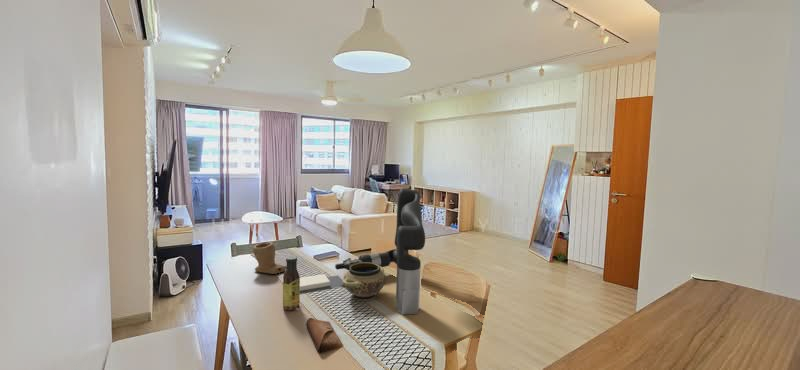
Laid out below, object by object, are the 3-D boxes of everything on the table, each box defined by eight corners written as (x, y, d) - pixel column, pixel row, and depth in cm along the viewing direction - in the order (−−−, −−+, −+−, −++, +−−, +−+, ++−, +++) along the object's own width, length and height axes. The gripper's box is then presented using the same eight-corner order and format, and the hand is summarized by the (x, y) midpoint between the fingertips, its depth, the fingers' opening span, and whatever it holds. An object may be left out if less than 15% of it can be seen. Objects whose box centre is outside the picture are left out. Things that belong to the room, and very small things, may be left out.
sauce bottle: (294, 312, 124) (294, 261, 122) (279, 310, 125) (279, 260, 124) (302, 304, 131) (302, 256, 129) (288, 302, 132) (288, 254, 130)
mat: (338, 276, 162) (338, 275, 162) (347, 286, 150) (347, 285, 150) (287, 284, 151) (287, 283, 151) (293, 295, 138) (292, 294, 138)
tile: (324, 274, 157) (294, 278, 150) (330, 281, 148) (298, 286, 141) (324, 278, 157) (294, 283, 150) (330, 286, 148) (298, 292, 141)
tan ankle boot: (248, 273, 163) (247, 243, 162) (267, 266, 174) (266, 238, 172) (270, 278, 157) (270, 248, 155) (288, 271, 167) (288, 242, 166)
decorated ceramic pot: (371, 289, 154) (365, 257, 155) (401, 289, 144) (394, 255, 145) (332, 308, 134) (326, 272, 135) (364, 310, 124) (357, 271, 125)
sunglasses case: (345, 346, 103) (335, 332, 101) (327, 363, 100) (315, 348, 98) (329, 321, 118) (319, 307, 116) (312, 334, 116) (302, 321, 114)
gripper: (364, 250, 167) (331, 255, 159) (375, 258, 156) (340, 263, 147) (364, 265, 168) (331, 270, 160) (375, 273, 156) (340, 279, 148)
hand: (335, 266), depth 153 cm, fingers closed
